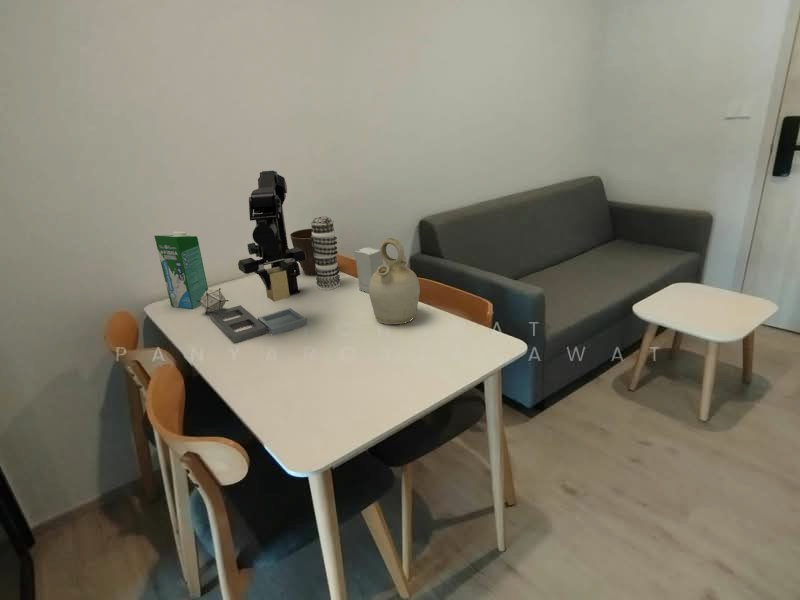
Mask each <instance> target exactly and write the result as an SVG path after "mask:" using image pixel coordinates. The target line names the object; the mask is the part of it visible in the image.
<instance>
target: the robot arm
mask: <svg viewBox="0 0 800 600" xmlns="http://www.w3.org/2000/svg"><path fill="white" fill-rule="evenodd" d="M257 186H258V188H256V189H254V190H252V191H251V193H250V196H249V197H248V213H249V221H251V222H252V221H255V223H256V224H255V227H254V229H253V230H252V239H253V240H252V241H254V242H251V243H247V245H246V246H247V251H248V253H249V255H250V256H251V255H255V257H256V258H258V257H259V259H254V258H253V257H249V258H242V259H239V261H238V263H237V266H238V270H239V271H241V272H242V273H243V274H246V275H249V274H254V273H255V275H256V274H257V275H258V277H259V278H260V279H261V281H262V283H263V285H264V286H265V289H266V288H267V290H270V285H269V279H268V273H267V270H266V269H265V266H266V265H270V266H271V267H270V268H274V267H281V268H283V269H284V270H286V274H287V281H288V288H289V295H290V296H291V295H294V294H299V293H301V289H299V285H298V279H297V278H299V276H301V270H300V263H299V261H303V260H306V253H305V251H303V250H301V249H299V248H297V247H296V248H294V247H292V248H289V244H288V239H287V231H286V223H285V215H284V208H283V204H284V202H285V200H286V197H287V194H288V187H287V181H286V177H284V176H282V175H280V174H278V171H277V170H262V171H260V172H259V177H258V179H257Z"/></svg>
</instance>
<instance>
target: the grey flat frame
mask: <svg viewBox="0 0 800 600" xmlns="http://www.w3.org/2000/svg"><path fill="white" fill-rule="evenodd" d="M236 315H237V316H239V317H236ZM229 317H230V318H232V317H235V318H232V319H230V318H229ZM209 318H210V320H211V321H212V322H213V324H214V325H215V326H216V327H218V329H219V330H221V332H222V333H223V334H224V335H225V336H226V337H227V338H228V339H229V340H230V341H231V342H232V344H234V343H235V344H237V343H241V342H244V341H247V339H248V340H250V339H254V338H256V337H259V336H264V335H266V333H267V334H268V333H269V332H268V331H267V327H266V326H265V325H264V324H262V323H261V322H260V321H259V320H258V318H257V317H256V316H254V315H253V314H252V313H251V312H249V311H248V310H247V309H246V308H245V307H243V306H242V305H241V304H240V305H236V306H233V307H229V308H226V309H221V311H217V312H209ZM225 318H226V319H228V320H226V319H225ZM247 325H248V326H251V327H248V328H246V329H242V330H238V329H241V328H244V327H243V326H245V327H247ZM240 327H241V328H240ZM237 328H238V329H237ZM234 329H235V330H238V331H235V330H234ZM263 334H264V335H263Z"/></svg>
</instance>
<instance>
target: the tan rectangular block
mask: <svg viewBox="0 0 800 600" xmlns="http://www.w3.org/2000/svg"><path fill="white" fill-rule="evenodd" d="M265 270H267V273H268V279H269V285H270V290H267V288H266V287H265V291H266V297H267V298H268V299H269V300H270V301H272V302H275V303H276V302H278V301H282V300H285V299H289V298H290V296H291V295H289V288H288V281H287V274H286V270H284V269H283V268H281V267H274V268H271V267H270V268H266V269H265Z"/></svg>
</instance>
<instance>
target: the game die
mask: <svg viewBox="0 0 800 600" xmlns="http://www.w3.org/2000/svg"><path fill="white" fill-rule="evenodd" d="M205 290H206V291H205V293H204V295H203V296H202V298H201V299H200V301H199V300H198V301H197V302H200V303H201V305H200V306H202V307H203V309H204V310H205V315H206V314H208V313H214V312H217V311H221V310H223V307H224V305H225V304H226V302H229V301H230V300H228V299H226V298H225V296H224V295H223V293H222V292H221V287H219V288H218V289H208V290H207V288H205Z"/></svg>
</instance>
